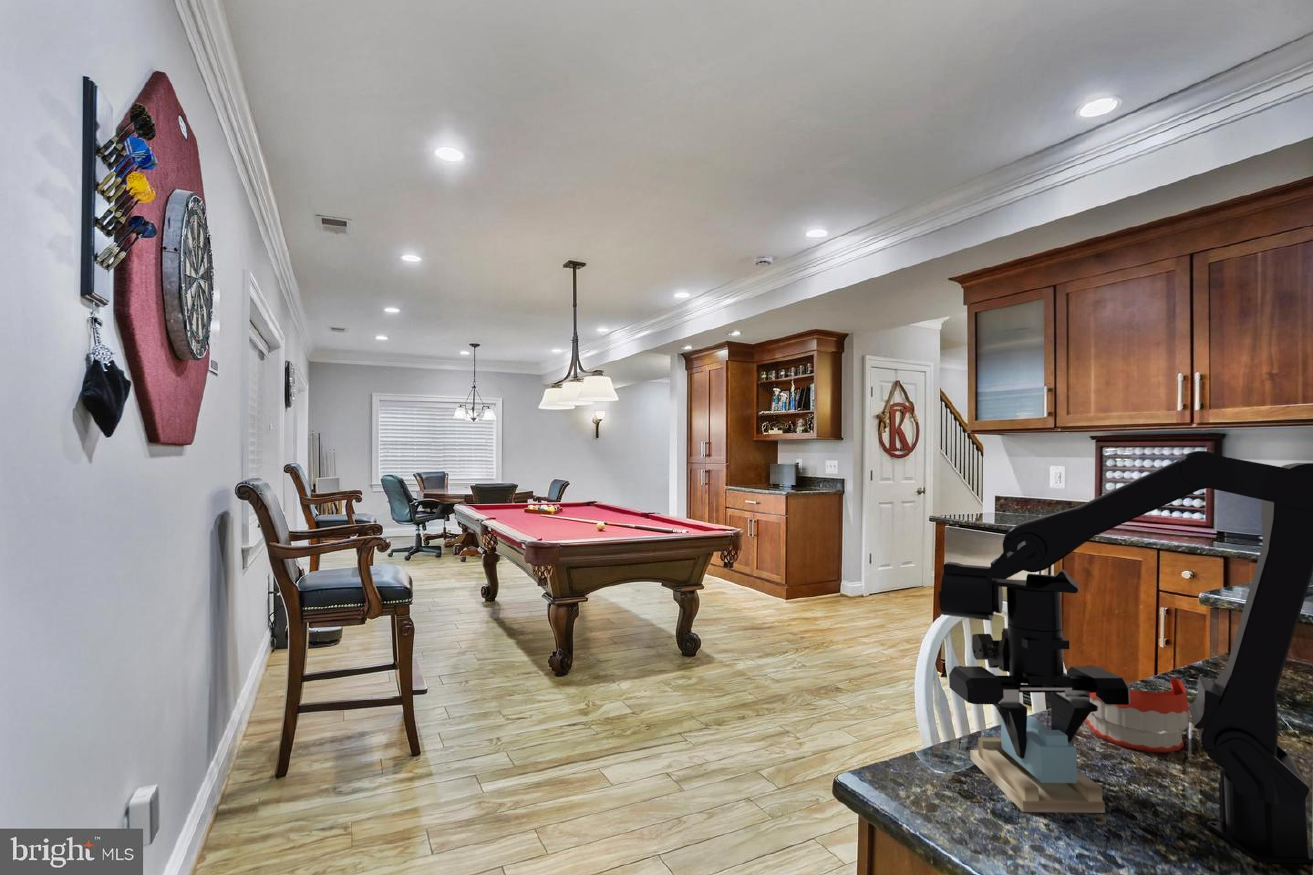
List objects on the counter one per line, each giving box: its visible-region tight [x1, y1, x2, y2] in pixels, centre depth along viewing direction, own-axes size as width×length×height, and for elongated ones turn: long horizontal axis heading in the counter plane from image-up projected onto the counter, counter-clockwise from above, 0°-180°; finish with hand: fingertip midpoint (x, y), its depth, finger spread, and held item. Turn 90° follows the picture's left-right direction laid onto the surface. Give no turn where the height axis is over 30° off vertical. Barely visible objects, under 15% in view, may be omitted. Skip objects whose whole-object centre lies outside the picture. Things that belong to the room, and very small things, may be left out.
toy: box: [1085, 677, 1190, 754], centre depth 91 cm, size 12×10×8 cm
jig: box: [969, 736, 1106, 814], centre depth 79 cm, size 13×9×4 cm
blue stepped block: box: [1000, 715, 1078, 783], centre depth 78 cm, size 9×4×5 cm, turn 178°
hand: (1038, 757), depth 78 cm, fingers closed on blue stepped block, 4 cm apart
